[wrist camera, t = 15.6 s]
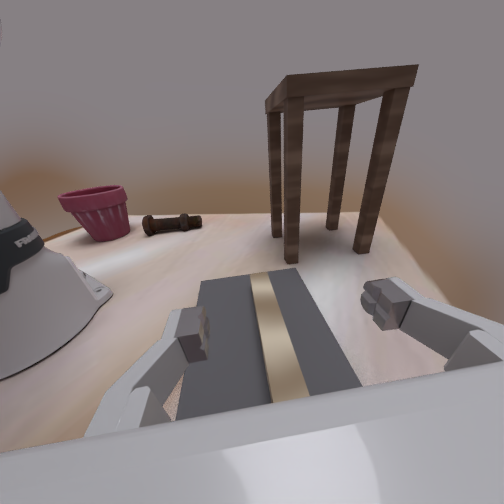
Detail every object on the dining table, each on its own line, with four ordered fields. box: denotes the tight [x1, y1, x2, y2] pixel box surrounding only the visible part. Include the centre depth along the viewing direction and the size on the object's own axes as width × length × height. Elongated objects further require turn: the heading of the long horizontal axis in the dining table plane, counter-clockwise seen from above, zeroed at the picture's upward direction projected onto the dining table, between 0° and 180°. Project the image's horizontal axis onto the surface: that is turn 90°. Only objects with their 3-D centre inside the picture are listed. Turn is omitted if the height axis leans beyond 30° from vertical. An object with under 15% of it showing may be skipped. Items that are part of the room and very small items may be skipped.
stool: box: [265, 64, 419, 264], centre depth 35 cm, size 14×16×26 cm
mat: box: [175, 268, 363, 421], centre depth 21 cm, size 26×16×1 cm, turn 7°
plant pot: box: [58, 185, 130, 242], centre depth 53 cm, size 14×14×13 cm
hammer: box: [250, 272, 310, 403], centre depth 19 cm, size 22×7×4 cm, turn 7°
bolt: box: [142, 214, 202, 236], centre depth 54 cm, size 6×5×15 cm
